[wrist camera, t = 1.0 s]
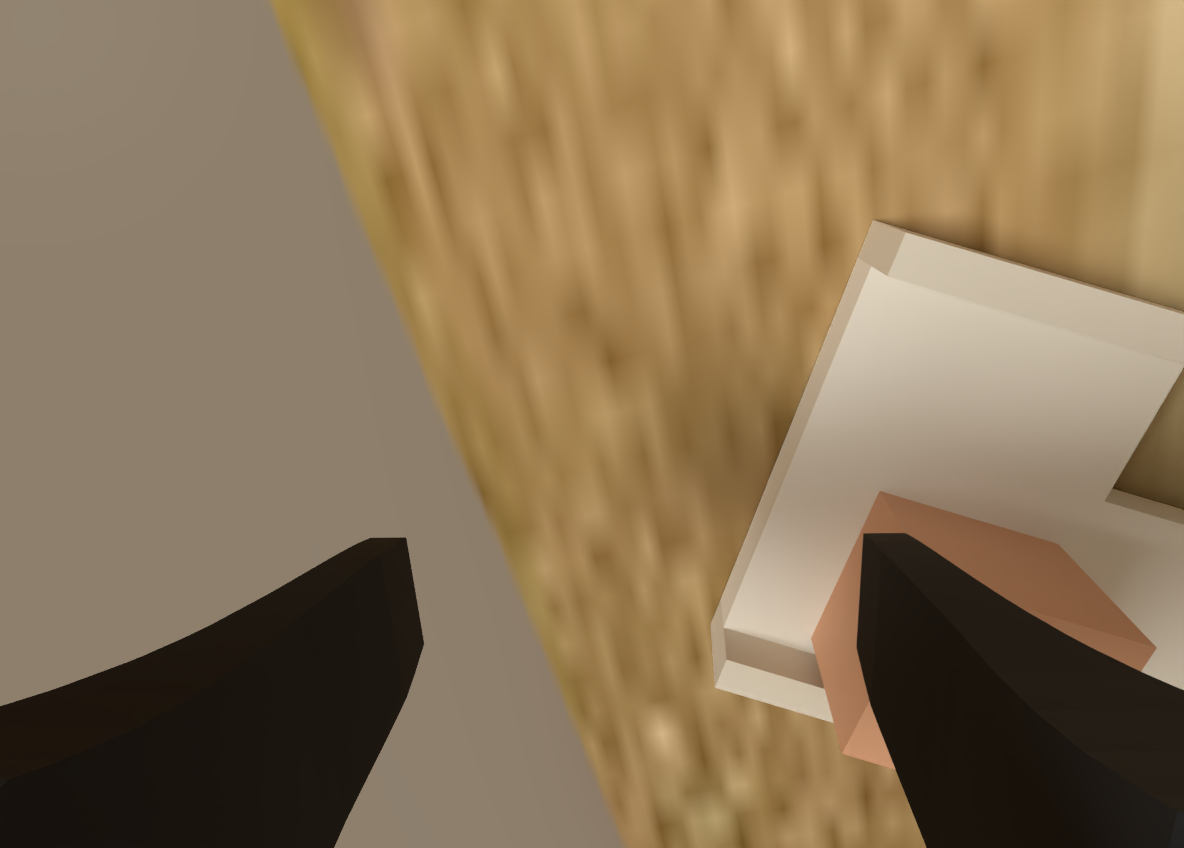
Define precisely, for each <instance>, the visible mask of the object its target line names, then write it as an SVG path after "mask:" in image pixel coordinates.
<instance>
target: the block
mask: <svg viewBox="0 0 1184 848" xmlns="http://www.w3.org/2000/svg"><path fill="white" fill-rule="evenodd" d="M863 533H906V534H908V535H910V536H912V537H914V538H915V539H917V540H918V541H920V542H922V543H923V544H925V545H926V546H928V547H929V548H931V549H932V550H934V551H935V552H937V553H938V554H940V555H941V556H942V557H944V558H945V559H947V560H948V561H950V562H951V563H953V564H954V565H956V566H957V567H959V568H960V569H962V570H963V571H965V572H966V573H968V574H969V575H971V576H972V577H974V578H975V579H976V580H978V581H980V582H981V583H983V584H984V585H986V586H987V587H989V588H990V589H992V590H993V591H995V592H996V593H998V594H1000V595H1001V596H1003V597H1004V598H1006V599H1007V600H1009V601H1011V602H1012V603H1014V604H1015V605H1017V606H1019V607H1020V608H1022V609H1024V610H1025V611H1027V612H1029V613H1030V614H1032V615H1034V616H1035V617H1037V618H1039V619H1041V620H1042V621H1044V622H1046V623H1048V624H1049V625H1051V626H1053V627H1055V628H1056V629H1058V630H1060V631H1061V632H1063V633H1065V634H1067V635H1069V636H1070V637H1072V638H1074V639H1076V640H1078V641H1080V642H1082V643H1084V644H1086V645H1087V646H1089V647H1091V648H1093V649H1095V650H1097V651H1100V652H1102V653H1104V654H1106V655H1108V656H1110V657H1112V658H1114V659H1116V660H1118V661H1120V662H1122V663H1124V664H1126V665H1128V666H1130V667H1132V668H1134V669H1137V670H1139V671H1142V669H1143V668H1144V666H1145V665H1146V663H1147V662H1148V660H1149V659H1150V657H1151V656H1152V654H1153V653H1154V651H1155V650H1156V649H1157V647H1156V646H1155V645H1154V644H1153V643H1152V642H1151V641H1150V640H1149V639H1148V638H1147V637H1146V636H1145V635H1144V634H1143V633H1142V632H1141V631H1140V630H1139V628H1138V627H1137V626H1136V625H1135V624H1134V623H1133V622H1132V621H1131V620H1130V619H1129V618H1128V617H1127V616H1126V615H1125V614H1124V613H1123V612H1122V611H1121V610H1120V608H1119V607H1118V606H1117V605H1116V604H1115V603H1114V602H1113V601H1112V600H1111V599H1110V598H1109V597H1108V596H1107V595H1106V594H1105V593H1104V592H1103V591H1102V590H1101V589H1100V587H1099V586H1098V585H1097V584H1096V583H1095V582H1094V581H1093V580H1092V579H1091V578H1090V577H1089V576H1088V575H1087V574H1086V573H1085V572H1084V571H1083V570H1082V569H1081V568H1080V566H1079V565H1078V564H1077V563H1076V562H1075V561H1074V560H1073V559H1072V558H1071V557H1070V556H1069V555H1068V554H1067V553H1066V552H1065V551H1064V550H1063V549H1062V548H1061V546H1060V545H1059V544H1057V543H1053V542H1050V541H1046V540H1043V539H1040V538H1036V537H1033V536H1030V535H1026V534H1023V533H1019V532H1016V531H1013V530H1009V529H1006V528H1003V527H999V526H996V525H993V524H989V523H986V522H982V521H979V520H976V519H972V518H969V517H966V516H962V515H959V514H955V513H952V512H949V511H945V510H942V509H939V508H935V507H932V506H928V505H925V504H922V503H918V502H915V501H912V500H908V499H905V498H902V497H898V496H895V495H891V494H888V493H885V492H881V491H879V493H878V495H877V497H876V500H875V502H874V504H873V506H872V508H871V510H870V512H869V515H868V517H867V519H866V521H865V523H864V525H863V527H862V530H861V532H860V534H859V536H858V538H857V540H856V543H855V545H854V547H853V549H852V551H851V553H850V555H849V558H848V560H847V562H846V564H845V566H844V568H843V570H842V573H841V575H840V577H839V579H838V581H837V583H836V586H835V588H834V590H833V592H832V594H831V596H830V598H829V601H828V603H827V605H826V607H825V609H824V611H823V614H822V616H821V618H820V620H819V622H818V624H817V626H816V629H815V631H814V633H813V635H812V637H811V640H812V644H813V648H814V651H815V655H816V659H817V662H818V666H819V670H820V674H821V677H822V681H823V685H824V688H825V692H826V696H827V700H828V703H829V707H830V711H831V714H832V718H833V722H834V726H835V729H836V733H837V737H838V740H839V744H840V748H841V752H842V754H845V755H848V756H852V757H855V758H858V759H862V760H865V761H868V762H872V763H875V764H878V765H882V766H885V767H888V768H892V769H895V767H894V764H893V762H892V759H891V757H890V754H889V752H888V749H887V747H886V744H885V741H884V739H883V736H882V734H881V731H880V729H879V726H878V723H877V721H876V718H875V716H874V713H873V710H872V708H871V705H870V701H869V697H868V693H867V689H866V685H865V682H864V678H863V673H862V669H861V665H860V661H859V656H858V652H857V648H856V645H857V629H858V612H859V596H860V579H861V563H862V546H863ZM895 770H896V769H895Z"/></svg>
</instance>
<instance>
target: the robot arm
mask: <svg viewBox="0 0 1184 848" xmlns="http://www.w3.org/2000/svg"><path fill="white" fill-rule="evenodd" d="M423 645H424V641H423V635H422V629H421V623H420V618H419V611H418V606H417V599H416V593H415V588H414V582H413V576H412V570H411V564H410V558H409V552H408V546H407V540H406V538H369V539H367V540H365V541H362V542H360V543H358V544H356V545H354V546H352V547H350V548H348V549H346V550H344V551H343V552H341V553H339V554H337V555H336V556H334V557H332V558H330V559H328V560H327V561H325V562H323V563H321V564H320V565H318V566H316V567H315V568H313V569H311V570H309V571H308V572H306V573H304V574H302V575H301V576H299V577H297V578H295V579H294V580H292V581H291V582H289V583H287V584H285V585H283V586H282V587H280V588H278V589H276V590H275V591H273V592H271V593H270V594H268V595H266V596H264V597H262V598H260V599H258V600H257V601H255V602H253V603H251V604H249V605H247V606H246V607H244V608H242V609H240V610H238V611H236V612H234V613H232V614H230V615H229V616H227V617H225V618H223V619H221V620H219V621H218V622H215V623H214V624H212V625H210V626H208V627H206V628H204V629H202V630H200V631H197V632H195V633H194V634H191V635H189V636H187V637H185V638H183V639H181V640H178V641H176V642H174V643H172V644H169V645H167V646H165V647H163V648H160V649H158V650H156V651H153V652H151V653H149V654H147V655H144V656H142V657H139V658H137V659H135V660H132V661H130V662H127V663H124V664H122V665H119V666H116V667H114V668H111V669H108V670H106V671H103V672H100V673H97V674H95V675H92V676H89V677H87V678H84V679H81V680H78V681H76V682H73V683H70V684H68V685H65V686H62V687H60V688H57V689H54V690H51V691H48V692H44V693H42V694H38V695H35V696H32V697H29V698H26V699H22V700H19V701H16V702H13V703H10V704H7V705H3V706H0V848H334V846H335V844H336V842H337V840H338V837H339V835H340V833H341V831H342V828H343V826H344V824H345V821H346V819H347V818H348V815H349V813H350V812H351V810H352V807H353V805H354V803H355V801H356V799H357V797H358V795H359V793H360V791H361V789H362V787H363V785H364V783H365V781H366V779H367V777H368V775H369V773H370V771H371V769H372V767H373V765H374V763H375V761H376V759H377V757H378V755H379V753H380V751H381V749H382V747H383V745H384V743H385V741H386V739H387V737H388V735H389V733H390V731H391V729H392V727H393V725H394V723H395V721H396V719H397V716H398V715H399V712H400V710H401V708H402V706H403V704H404V702H405V700H406V698H407V694H408V692H409V689H410V686H411V683H412V680H413V677H414V674H415V671H416V668H417V665H418V661H419V658H420V655H421V652H422V649H423ZM856 648H857V652H858V656H859V661H860V665H861V669H862V673H863V678H864V682H865V685H866V689H867V693H868V697H869V701H870V705H871V708H872V710H873V713H874V716H875V718H876V721H877V723H878V726H879V729H880V731H881V734H882V736H883V739H884V741H885V744H886V747H887V749H888V752H889V754H890V757H891V759H892V762H893V764H894V767H895V769H896V772H897V774H898V777H899V779H900V782H901V784H902V787H903V789H904V792H905V794H906V797H907V799H908V802H909V804H910V807H911V809H912V812H913V814H914V817H915V819H916V822H917V824H918V827H919V829H920V832H921V834H922V837H923V839H924V842H925V845H926V848H1184V690H1182V689H1180V688H1177V687H1175V686H1172V685H1170V684H1168V683H1166V682H1163V681H1161V680H1159V679H1156V678H1154V677H1152V676H1150V675H1147V674H1145V673H1143V672H1141V671H1139V670H1137V669H1134V668H1132V667H1130V666H1128V665H1126V664H1124V663H1122V662H1120V661H1118V660H1116V659H1114V658H1112V657H1110V656H1108V655H1106V654H1104V653H1102V652H1100V651H1097V650H1095V649H1093V648H1091V647H1089V646H1087V645H1086V644H1084V643H1082V642H1080V641H1078V640H1076V639H1074V638H1072V637H1070V636H1069V635H1067V634H1065V633H1063V632H1061V631H1060V630H1058V629H1056V628H1055V627H1053V626H1051V625H1049V624H1048V623H1046V622H1044V621H1042V620H1041V619H1039V618H1037V617H1035V616H1034V615H1032V614H1030V613H1029V612H1027V611H1025V610H1024V609H1022V608H1020V607H1019V606H1017V605H1015V604H1014V603H1012V602H1011V601H1009V600H1007V599H1006V598H1004V597H1003V596H1001V595H1000V594H998V593H996V592H995V591H993V590H992V589H990V588H989V587H987V586H986V585H984V584H983V583H981V582H980V581H978V580H976V579H975V578H974V577H972V576H971V575H969V574H968V573H966V572H965V571H963V570H962V569H960V568H959V567H957V566H956V565H954V564H953V563H951V562H950V561H948V560H947V559H945V558H944V557H942V556H941V555H940V554H938V553H937V552H935V551H934V550H932V549H931V548H929V547H928V546H926V545H925V544H923V543H922V542H920V541H918V540H917V539H915V538H914V537H912V536H910V535H908V534H906V533H863V546H862V563H861V579H860V596H859V612H858V629H857V645H856Z"/></svg>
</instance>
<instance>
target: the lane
mask: <svg viewBox="0 0 1184 848" xmlns="http://www.w3.org/2000/svg"><path fill="white" fill-rule="evenodd" d="M1183 368H1184V311H1180V310H1177V309H1174V308H1170V307H1167V306H1163V305H1160V304H1157V303H1153V302H1150V301H1146V300H1143V299H1140V298H1136V297H1133V296H1129V295H1126V294H1123V293H1119V292H1116V291H1113V290H1109V289H1106V288H1102V287H1099V286H1096V285H1092V284H1089V283H1085V282H1082V281H1079V280H1075V279H1072V278H1069V277H1065V276H1062V275H1058V274H1055V273H1052V272H1048V271H1045V270H1041V269H1038V268H1035V267H1031V266H1028V265H1025V264H1021V263H1018V262H1014V261H1011V260H1008V259H1004V258H1001V257H997V256H994V255H991V254H987V253H984V252H980V251H977V250H974V249H970V248H967V247H964V246H960V245H957V244H953V243H950V242H947V241H943V240H940V239H936V238H933V237H930V236H926V235H923V234H920V233H916V232H913V231H909V230H906V229H903V228H899V227H896V226H892V225H889V224H886V223H882V222H879V221H876V220H873V221H872V224H871V226H870V229H869V231H868V233H867V236H866V238H865V241H864V243H863V246H862V248H861V251H860V253H859V256H858V258H857V261H856V263H855V266H854V268H853V271H852V273H851V276H850V278H849V281H848V283H847V286H846V288H845V291H844V293H843V296H842V298H841V301H840V303H839V306H838V308H837V311H836V313H835V316H834V318H833V321H832V323H831V326H830V328H829V331H828V333H827V336H826V338H825V341H824V343H823V346H822V348H821V351H820V353H819V356H818V358H817V361H816V363H815V366H814V368H813V371H812V373H811V376H810V378H809V381H808V383H807V386H806V388H805V391H804V393H803V395H802V398H801V400H800V403H799V405H798V408H797V410H796V413H795V415H794V418H793V420H792V423H791V425H790V428H789V430H788V433H787V435H786V438H785V440H784V443H783V445H782V448H781V450H780V453H779V455H778V458H777V460H776V463H775V465H774V468H773V470H772V473H771V475H770V478H769V480H768V483H767V485H766V488H765V490H764V493H763V495H762V498H761V500H760V503H759V505H758V508H757V510H756V513H755V515H754V518H753V520H752V523H751V525H750V528H749V530H748V533H747V535H746V538H745V540H744V543H743V545H742V548H741V550H740V553H739V555H738V557H737V560H736V562H735V565H734V567H733V570H732V572H731V575H730V577H729V580H728V582H727V585H726V587H725V590H724V592H723V595H722V597H721V600H720V602H719V605H718V607H717V610H716V612H715V615H714V617H713V620H712V622H711V638H712V652H713V667H714V682H715V688H718V689H721V690H725V691H728V692H732V693H735V694H738V695H742V696H745V697H748V698H752V699H755V700H758V701H762V702H765V703H768V704H772V705H775V706H779V707H782V708H785V709H789V710H792V711H795V712H799V713H802V714H805V715H809V716H812V717H815V718H819V719H822V720H825V721H829V722H832V723H834V722H833V718H832V714H831V711H830V707H829V703H828V700H827V696H826V692H825V688H824V685H823V681H822V677H821V674H820V670H819V666H818V662H817V659H816V655H815V651H814V648H813V644H812V640H811V637H812V635H813V633H814V631H815V629H816V626H817V624H818V622H819V620H820V618H821V616H822V614H823V611H824V609H825V607H826V605H827V603H828V601H829V598H830V596H831V594H832V592H833V590H834V588H835V586H836V583H837V581H838V579H839V577H840V575H841V573H842V570H843V568H844V566H845V564H846V562H847V560H848V558H849V555H850V553H851V551H852V549H853V547H854V545H855V543H856V540H857V538H858V536H859V534H860V532H861V530H862V527H863V525H864V523H865V521H866V519H867V517H868V515H869V512H870V510H871V508H872V506H873V504H874V502H875V500H876V497H877V495H878V493H879V491H881V492H885V493H888V494H891V495H895V496H898V497H902V498H905V499H908V500H912V501H915V502H918V503H922V504H925V505H928V506H932V507H935V508H939V509H942V510H945V511H949V512H952V513H955V514H959V515H962V516H966V517H969V518H972V519H976V520H979V521H982V522H986V523H989V524H993V525H996V526H999V527H1003V528H1006V529H1009V530H1013V531H1016V532H1019V533H1023V534H1026V535H1030V536H1033V537H1036V538H1040V539H1043V540H1046V541H1050V542H1053V543H1057V544H1059V545H1060V546H1061V548H1062V549H1063V550H1064V551H1065V552H1066V553H1067V554H1068V555H1069V556H1070V557H1071V558H1072V559H1073V560H1074V561H1075V562H1076V563H1077V564H1078V565H1079V566H1080V568H1081V569H1082V570H1083V571H1084V572H1085V573H1086V574H1087V575H1088V576H1089V577H1090V578H1091V579H1092V580H1093V581H1094V582H1095V583H1096V584H1097V585H1098V586H1099V587H1100V589H1101V590H1102V591H1103V592H1104V593H1105V594H1106V595H1107V596H1108V597H1109V598H1110V599H1111V600H1112V601H1113V602H1114V603H1115V604H1116V605H1117V606H1118V607H1119V608H1120V610H1121V611H1122V612H1123V613H1124V614H1125V615H1126V616H1127V617H1128V618H1129V619H1130V620H1131V621H1132V622H1133V623H1134V624H1135V625H1136V626H1137V627H1138V628H1139V630H1140V631H1141V632H1142V633H1143V634H1144V635H1145V636H1146V637H1147V638H1148V639H1149V640H1150V641H1151V642H1152V643H1153V644H1154V645H1155V646H1156V647H1157V649H1156V650H1155V651H1154V653H1153V654H1152V656H1151V657H1150V659H1149V660H1148V662H1147V663H1146V665H1145V666H1144V668H1143V669H1142V671H1141V672H1143V673H1145V674H1147V675H1150V676H1152V677H1154V678H1156V679H1159V680H1161V681H1163V682H1166V683H1168V684H1170V685H1172V686H1175V687H1177V688H1180V689H1182V690H1184V510H1183V509H1180V508H1176V507H1173V506H1170V505H1166V504H1163V503H1159V502H1156V501H1153V500H1149V499H1146V498H1143V497H1139V496H1136V495H1132V494H1129V493H1126V492H1122V491H1119V490H1116V489H1112V488H1113V486H1114V484H1115V483H1116V481H1117V479H1118V478H1119V476H1120V474H1121V472H1122V471H1123V469H1124V467H1125V466H1126V464H1127V462H1128V461H1129V459H1130V457H1131V456H1132V454H1133V452H1134V451H1135V449H1136V447H1137V445H1138V444H1139V442H1140V440H1141V439H1142V437H1143V435H1144V434H1145V432H1146V430H1147V429H1148V427H1149V425H1150V423H1151V422H1152V420H1153V418H1154V417H1155V415H1156V413H1157V412H1158V410H1159V408H1160V407H1161V405H1162V403H1163V402H1164V400H1165V398H1166V396H1167V395H1168V393H1169V391H1170V390H1171V388H1172V386H1173V385H1174V383H1175V381H1176V380H1177V378H1178V376H1179V375H1180V373H1181V371H1182V369H1183Z"/></svg>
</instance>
